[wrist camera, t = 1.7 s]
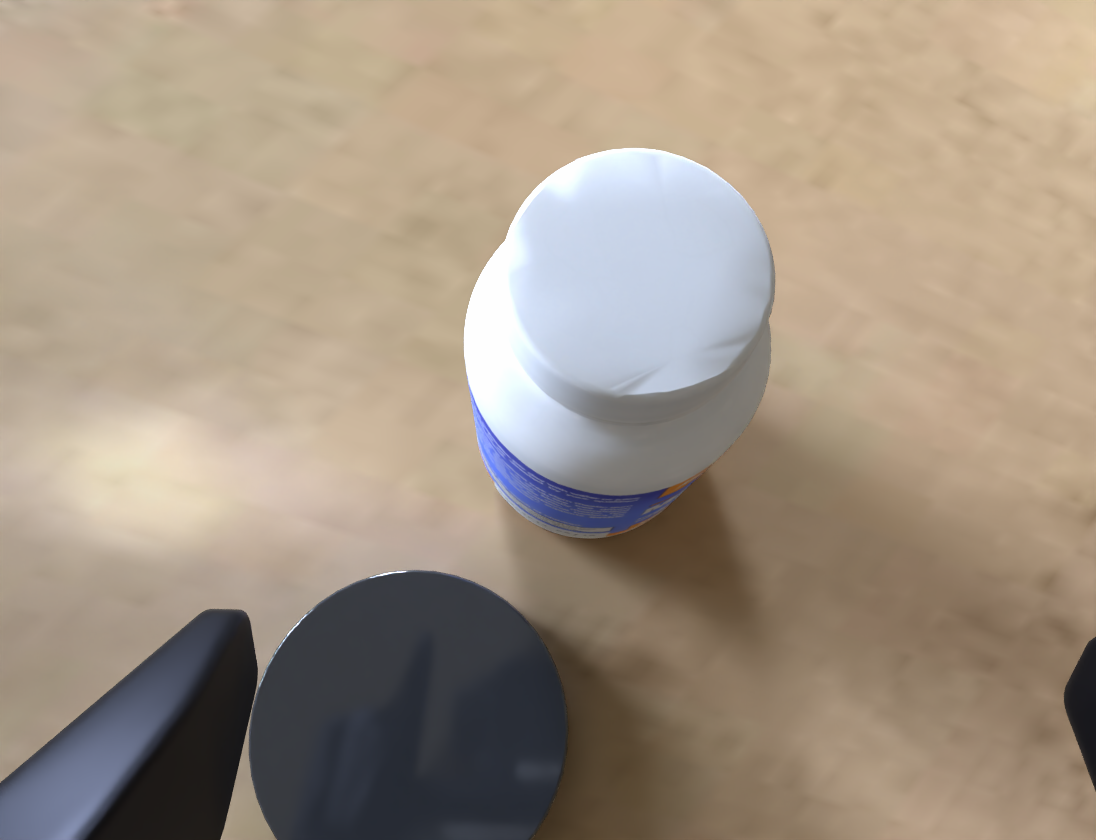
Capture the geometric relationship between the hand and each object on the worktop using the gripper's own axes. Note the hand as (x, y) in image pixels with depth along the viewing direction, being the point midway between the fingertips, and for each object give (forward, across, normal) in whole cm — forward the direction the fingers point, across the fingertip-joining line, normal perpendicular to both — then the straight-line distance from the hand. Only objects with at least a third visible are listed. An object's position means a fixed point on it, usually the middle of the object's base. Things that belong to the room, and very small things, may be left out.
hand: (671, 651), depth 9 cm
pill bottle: (+12, 0, +5) cm, 13 cm away
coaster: (+7, +4, +10) cm, 12 cm away
